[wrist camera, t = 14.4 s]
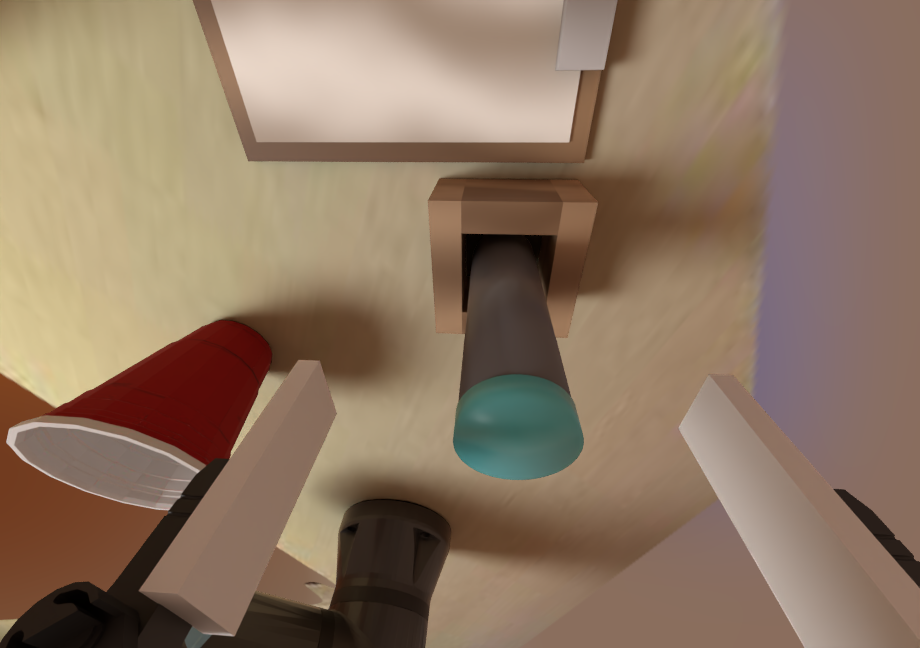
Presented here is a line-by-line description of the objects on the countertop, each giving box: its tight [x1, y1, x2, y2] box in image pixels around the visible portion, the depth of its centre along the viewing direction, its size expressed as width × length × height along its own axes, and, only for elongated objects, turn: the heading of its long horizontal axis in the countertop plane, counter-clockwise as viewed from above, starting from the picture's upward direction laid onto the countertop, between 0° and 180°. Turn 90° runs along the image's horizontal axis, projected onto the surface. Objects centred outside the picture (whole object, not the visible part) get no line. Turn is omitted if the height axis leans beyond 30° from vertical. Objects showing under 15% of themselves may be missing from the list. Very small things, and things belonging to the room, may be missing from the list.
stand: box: [428, 179, 598, 338], centre depth 20 cm, size 8×8×4 cm
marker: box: [453, 234, 584, 480], centre depth 16 cm, size 4×4×15 cm
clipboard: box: [193, 0, 618, 163], centre depth 15 cm, size 13×19×2 cm
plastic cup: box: [7, 320, 272, 510], centre depth 24 cm, size 11×11×12 cm
